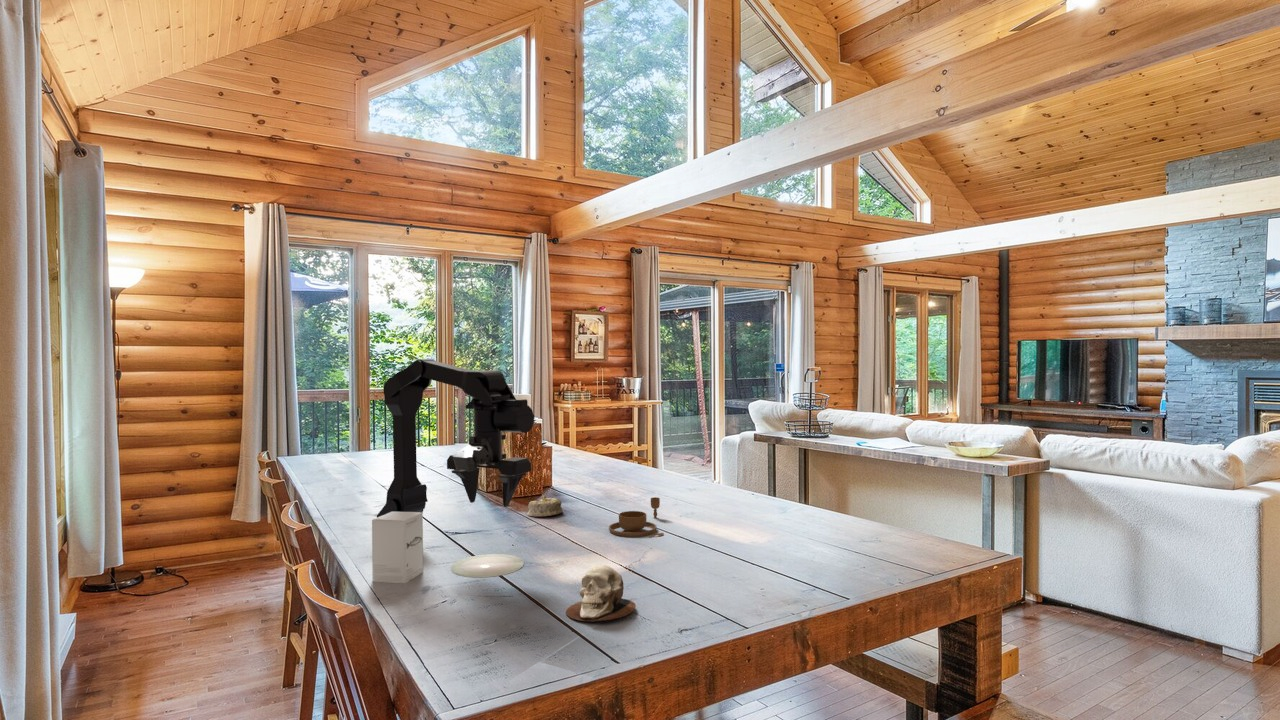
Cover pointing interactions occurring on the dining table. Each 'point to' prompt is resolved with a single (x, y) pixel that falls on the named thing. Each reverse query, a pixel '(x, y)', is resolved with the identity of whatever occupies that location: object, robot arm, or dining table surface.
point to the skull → (601, 596)
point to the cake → (545, 507)
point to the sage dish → (487, 565)
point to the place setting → (636, 522)
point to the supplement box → (397, 547)
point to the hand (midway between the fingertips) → (488, 504)
